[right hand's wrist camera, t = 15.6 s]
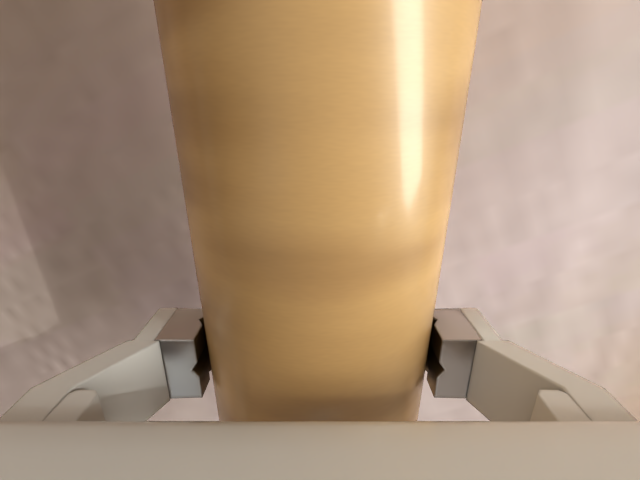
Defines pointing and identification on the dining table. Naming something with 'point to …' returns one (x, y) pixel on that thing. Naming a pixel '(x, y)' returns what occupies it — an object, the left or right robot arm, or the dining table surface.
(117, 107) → the dining table surface
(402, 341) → the rod
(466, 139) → the dining table surface
